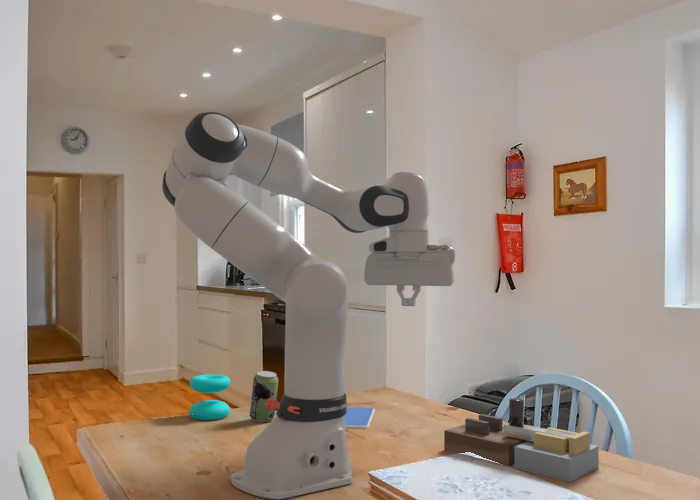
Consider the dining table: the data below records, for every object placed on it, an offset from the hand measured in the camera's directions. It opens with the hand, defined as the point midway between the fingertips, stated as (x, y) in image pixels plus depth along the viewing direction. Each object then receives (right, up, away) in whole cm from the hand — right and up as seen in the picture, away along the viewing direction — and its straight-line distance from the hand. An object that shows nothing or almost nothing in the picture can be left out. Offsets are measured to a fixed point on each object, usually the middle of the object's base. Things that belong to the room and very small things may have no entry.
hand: (408, 306), depth 141 cm
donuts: (-48, -29, +16) cm, 59 cm away
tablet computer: (-14, -30, +15) cm, 37 cm away
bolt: (+24, -24, -20) cm, 39 cm away
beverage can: (-34, -29, +12) cm, 47 cm away
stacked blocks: (+26, -29, -23) cm, 45 cm away
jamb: (+16, -29, -13) cm, 35 cm away
